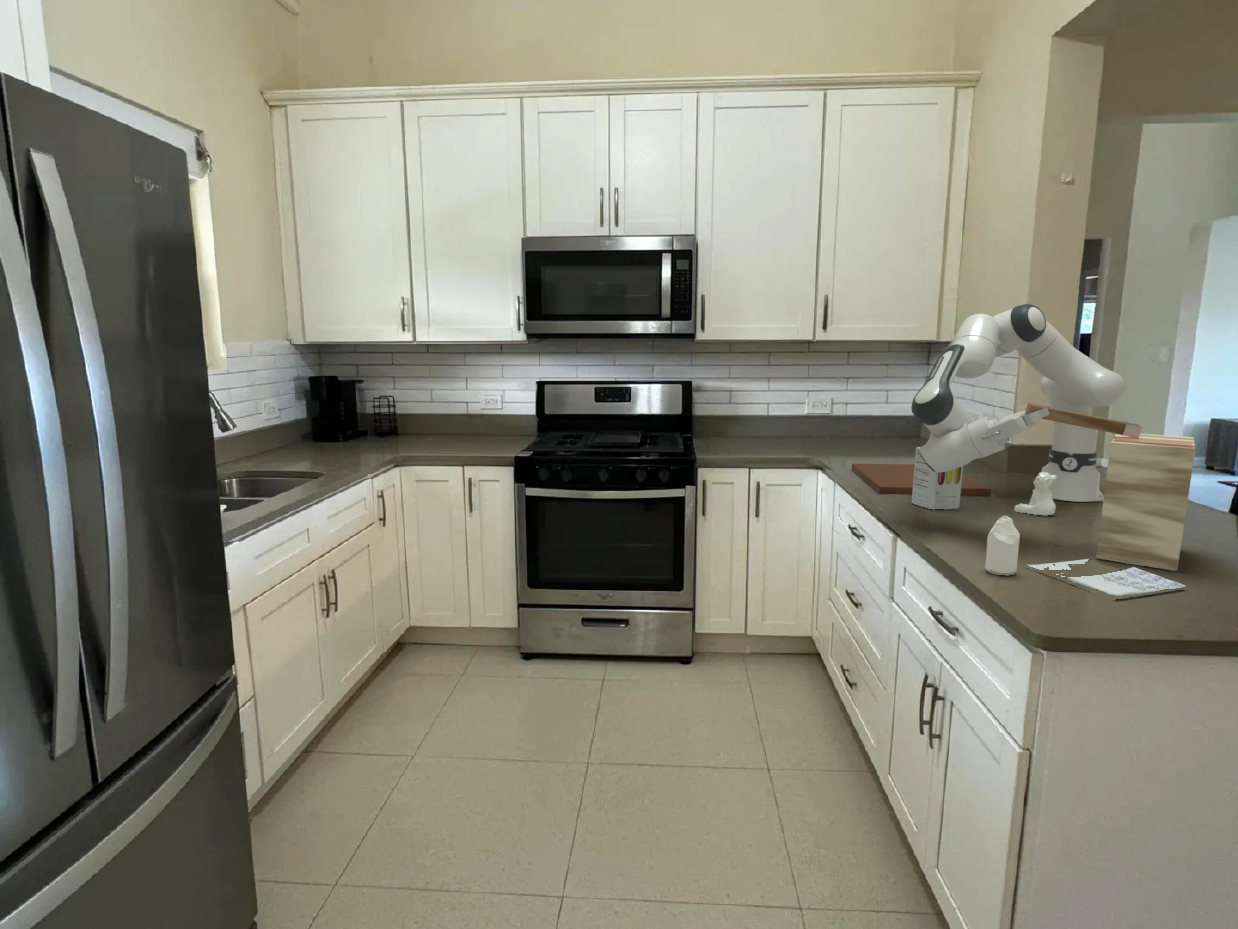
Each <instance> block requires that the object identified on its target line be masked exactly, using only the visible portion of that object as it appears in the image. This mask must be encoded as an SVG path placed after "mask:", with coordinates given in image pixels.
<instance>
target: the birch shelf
mask: <svg viewBox="0 0 1238 929" xmlns="http://www.w3.org/2000/svg"><path fill="white" fill-rule="evenodd" d="M1109 445H1110V447H1109V453H1108V462H1107V468H1106V469H1107V470H1106V477H1105V485H1104V493H1103V495H1104V500H1103V501H1102V508H1101V509H1102V510H1101V514H1100V515H1101V516H1100V523H1099V524H1100V525H1099V533H1098V538H1097V547H1096V548H1097V549H1096V555H1095V558H1096V557H1101V558H1109V559H1115V560H1119V561H1124V562H1128V563H1134V564H1144V565H1149V566H1155V567H1164V568H1169V569H1175V570H1177V571H1178V567H1179V561H1180V556H1181V555H1180V554H1181V547H1182V542H1183V534H1184V527H1185V521H1186V514H1187V506H1188V501H1189V494H1190V487H1191V480H1192V476H1193V475H1192V473H1193V467H1194V460H1195V454H1196V443H1195V438H1194V437H1193V436H1183V435H1181V436H1180V435H1168V434H1167V435H1164V434H1153V433H1152V434H1150V433H1140V436H1139V438H1133V437H1128V436H1123V435H1120V434H1114V436H1113V438H1112V440H1111V441H1110V444H1109Z"/></svg>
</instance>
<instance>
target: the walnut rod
mask: <svg viewBox="0 0 1238 929" xmlns="http://www.w3.org/2000/svg"><path fill="white" fill-rule="evenodd" d="M1044 408H1048V410H1049V411H1050V414H1049V415H1048V416H1046V417H1043V418H1041V419H1040V420H1047V421H1051V422H1054V421H1056V422H1061V423H1066V424H1071V425H1076V426H1081V427H1085V428H1090V429H1095V430H1098V431H1101V432H1105V433H1110V434H1114V435H1116V434H1120V435H1123V436H1128V437H1133V438H1139V436H1140V434H1142V430H1143V426H1141V425H1140V424H1138V423H1133V422H1128V421H1124V420H1118V419H1117V420H1116V419H1112V418H1106V417H1101V416H1096V415H1091V414H1090V415H1087V414H1082V413H1077V412H1072V411H1067V410H1062V409H1057V408H1052V407H1047V405H1039V404H1036V403H1030V402H1028V403H1027V406H1026V409H1025V410H1026V412H1025V413H1026V415H1028V414H1030V413H1033V412H1036V411H1039V410H1041V409H1044Z"/></svg>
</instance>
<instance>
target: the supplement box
mask: <svg viewBox="0 0 1238 929" xmlns="http://www.w3.org/2000/svg"><path fill="white" fill-rule="evenodd" d="M921 447H922V446H921ZM921 447H920V446H917V447H915V458H914V464H915V468H914V480H913V491H912V495H911V504H912V503H913V505H916V506H919V507H922V508H924V507H925V509H927V508H928V510H930V509H933V510H932V511H935V510H934V509H944V510H954V509H957V510H958V509H960V502H961V496H960V495H961V484H962V474H964V471H963V470H964V466H961V467H958V468H956V469H953V470H950V471H946V472H940V473H936V472H934V471H932V470H931V469H930V468H929V467H928V466H927V465H926V464H925V462H924V461H923V459H922V457H921V455H920V448H921Z"/></svg>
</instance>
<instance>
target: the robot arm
mask: <svg viewBox="0 0 1238 929" xmlns="http://www.w3.org/2000/svg"><path fill="white" fill-rule="evenodd" d="M1013 351H1016V352H1017V353H1018V355H1020V356H1021V357H1022V358H1023V359H1024V361H1026V362H1027V363H1028V365H1030V366H1031V368H1033V370H1034V371H1035V372H1037V373H1038V374H1039V375H1040V376H1042V379H1041V382H1040V389H1041V392H1042V393H1043V395H1044V396H1045V398H1046V399H1047V401H1048V403H1049V405H1048V406H1047V405H1046V407H1052V408H1057V409H1062V410H1067V411H1072V412H1077V413H1082V414H1087V415H1091V413H1090V407H1093V408H1097V407H1107V406H1111V405H1115V404H1116V403H1117V402H1118V401H1119V400H1121V398H1122V397H1123V395H1124V393H1125V389H1126V387H1125V381H1124V378H1123V377H1122V376H1121V375H1120V374H1118V373H1117V372H1116V371H1112V370H1111V369H1108V368H1106V367H1104V366H1102V365H1101V364H1099V363H1098V362H1097V361H1095V360H1094V359H1092V358H1091V357H1090V356H1087V355H1086V354H1084V353H1083V352H1081V351H1080V350H1078V349H1077V348H1075V346H1073V345H1072V344H1071V343H1070V342H1069V340H1068V339H1067V338H1065V337H1064V336H1063V335H1062V334H1061V333H1060V332H1059V331H1058V329H1056V328H1055V327H1054V326H1053V325H1052V324H1051V323H1050V322H1049V321H1048V320H1047V319H1046V316H1045V314H1044V313H1043V311H1042V310H1041V308H1040V307H1038V306H1036V305H1033V304H1030V303H1025V304H1020V305H1017V306H1014V307H1013V308H1011V309H1008V310H1004V311H1003V312H1000V313H997V314H996V315H993V316H991V315H990V314H986V313H975V314H972V315H969V316H968V317H967V318H965V320H963V322H962V324H961V325H960V327H959V329H958V330H957V332H956V334H955V336H954V339H953V342H952V343H951V345H950V346H947V347H946V348H945V349H943V350H942V352H940V353H939V356H938V357H937V359H936V360H935V362H934V365H932V366H933V367H932V368H931V370H930V372H929V374H928V376H927V377H926V379H925V381H924V384H923V385H922V386H921V387H920V389H919V390H918V391H917V393H916V394H915V395H914V397H913V399H912V402H911V406H910V408H911V413H912V414H913V416H914V417H915V418H916V419H918V421H920V422H921V423H922V424H923V425H924V427H926V428H927V429H928V430H929V432H930V435H929V437H928V440H927V442H926V443H925V444H923V445H922V446H921V448H920V455H921V457H922V459H923V461H924V462H925V464H926V465H927V466H928V467H929V468H930V469H931V470H932V471H934V472H936V473H940V472H946V471H950V470H953V469H956V468H958V467H961V466H963V467H964V466H966V465H968V464H969V463H971V462H972V461H974V460H976V459H982V458H983V459H984V458H985V457H988V456H990V455H993V454H997V453H998V452H1001V451H1003V450H1005V449H1006V444H1007V443H1008V442H1011V438H1013V437H1014V436H1015V435H1018V434H1020V433H1022V432H1024V431H1026V430H1027V429H1029V428H1031V426H1033V425H1035V424H1037V423H1038V422H1039V421H1038V420H1042V419H1041V418H1043V417H1046V416H1048V415H1049V414H1050V411H1049V410H1048V408H1044V409H1041V410H1039V411H1036V412H1033V413H1030V414H1028V415H1026V413H1025V412H1026V409H1025V410H1022V411H1019V412H1015V413H1011V414H1010V415H1006V416H1002V417H990V416H989V415H986V416H984V417H982V418H979V419H977V420H974V419H973V417H972V416H971V415H970V414H969V412H968V411H967V410H966V408H964V406H963V405H962V404H961V403H960V402H959V400H958V399H957V398H956V397H955V395H954V393H953V391H952V386H951V385H952V384H953V382H954V379H955V378H956V377H957V378H961V379H977V378H980V377H981V376H984V375H985V374H986V373H988V372H989V371H990V369H991V368H992V366H993V364H994V362H995V358H997V357H1002V356H1004V355H1007V354H1010V353H1012V352H1013ZM1052 432H1053V434H1052V446H1051V449H1050V450H1049V453H1048V463H1047V464H1046V465H1044V466H1042V469H1041V472H1048V473H1049V474H1051V475H1056V476H1057V478H1056V479H1055V480H1053V483H1052V484H1051V485H1050V486H1049V487H1048V489H1050V490H1051V492H1052V499H1053V500H1059V501H1065V502H1066V501H1067V502H1080V503H1082V502H1083V503H1085V502H1086V503H1087V502H1088V503H1089V502H1103V500H1104V493H1103V492H1101V490H1100V489H1101V484H1100V478H1101V472H1100V471H1099V470H1098V468H1096V465H1097V460H1098V452H1096V450H1097V444H1098V443H1097V442H1098V435H1099V434H1098V432H1099V430H1095V429H1090V428H1085V427H1081V426H1076V425H1071V424H1066V423H1061V422H1056V421H1053V431H1052ZM1034 490H1035V488H1034V489H1032V491H1031V492H1033V491H1034Z"/></svg>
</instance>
